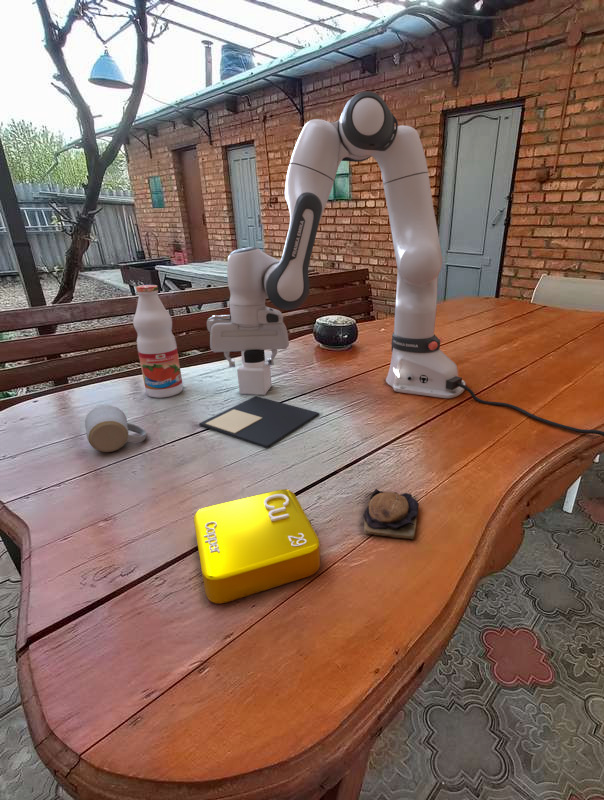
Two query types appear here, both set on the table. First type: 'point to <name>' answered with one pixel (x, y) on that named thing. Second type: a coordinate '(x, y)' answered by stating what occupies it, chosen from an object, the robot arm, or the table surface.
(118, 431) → the ceramic mug
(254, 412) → the mat
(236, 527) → the element tile
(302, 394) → the table surface
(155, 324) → the fruit juice
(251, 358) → the medicine bottle
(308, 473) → the table surface
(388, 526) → the brown layered stack
